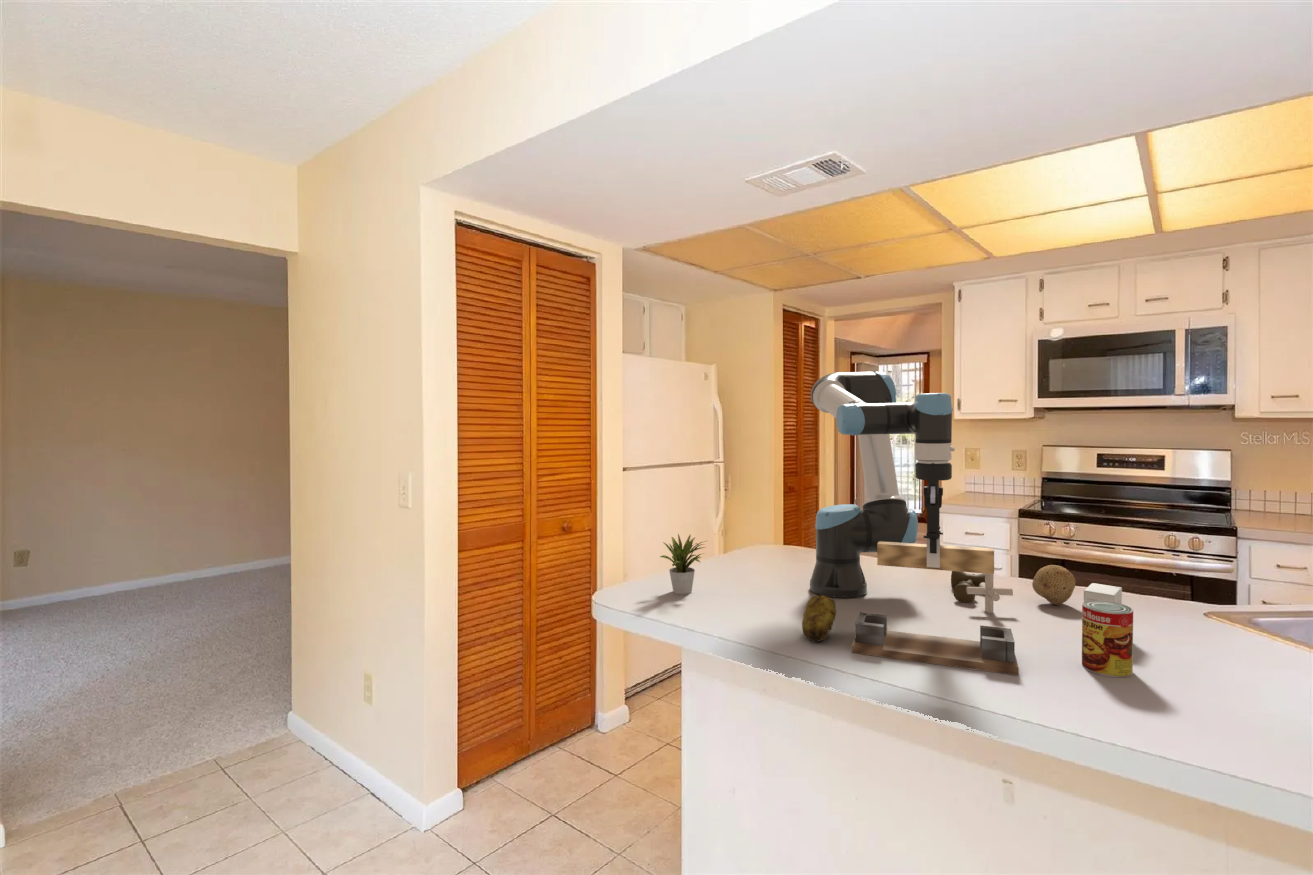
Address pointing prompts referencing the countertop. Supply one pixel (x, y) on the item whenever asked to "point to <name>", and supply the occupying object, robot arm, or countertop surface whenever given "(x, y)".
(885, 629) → the end cap board
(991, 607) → the pipe connector
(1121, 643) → the canned food
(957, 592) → the kendama
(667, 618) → the countertop surface
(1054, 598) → the natural sponge
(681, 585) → the house plant
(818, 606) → the potato
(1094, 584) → the small box
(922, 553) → the oak slat
